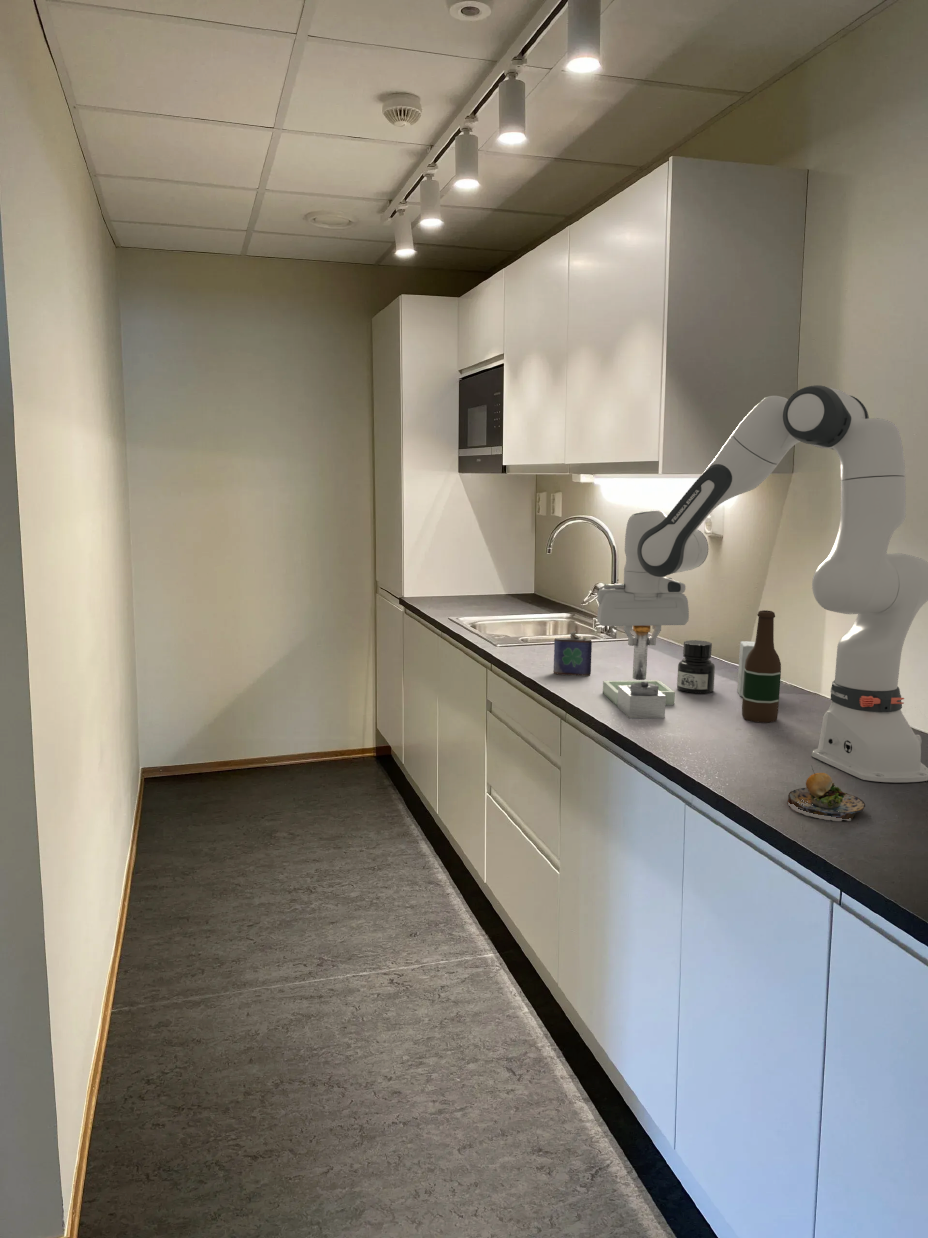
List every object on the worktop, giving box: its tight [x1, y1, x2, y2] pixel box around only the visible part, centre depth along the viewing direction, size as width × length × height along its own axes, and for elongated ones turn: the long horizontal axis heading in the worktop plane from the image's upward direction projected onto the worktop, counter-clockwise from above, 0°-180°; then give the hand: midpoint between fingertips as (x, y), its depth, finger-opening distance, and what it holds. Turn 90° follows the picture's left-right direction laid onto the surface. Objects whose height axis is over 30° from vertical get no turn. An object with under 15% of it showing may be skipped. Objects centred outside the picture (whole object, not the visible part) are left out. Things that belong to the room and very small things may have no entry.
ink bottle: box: [676, 639, 716, 694], centre depth 231 cm, size 10×9×12 cm
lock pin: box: [632, 626, 651, 681], centre depth 210 cm, size 4×4×12 cm
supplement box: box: [736, 640, 755, 698], centre depth 227 cm, size 7×7×13 cm
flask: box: [553, 630, 593, 677], centre depth 247 cm, size 10×3×12 cm, turn 79°
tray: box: [602, 679, 676, 706], centre depth 222 cm, size 12×14×3 cm
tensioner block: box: [616, 682, 666, 719], centre depth 209 cm, size 10×8×7 cm
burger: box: [787, 765, 866, 820], centre depth 151 cm, size 12×12×8 cm
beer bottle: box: [741, 609, 782, 724], centre depth 204 cm, size 8×8×24 cm
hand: (641, 645), depth 209 cm, fingers closed on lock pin, 3 cm apart
